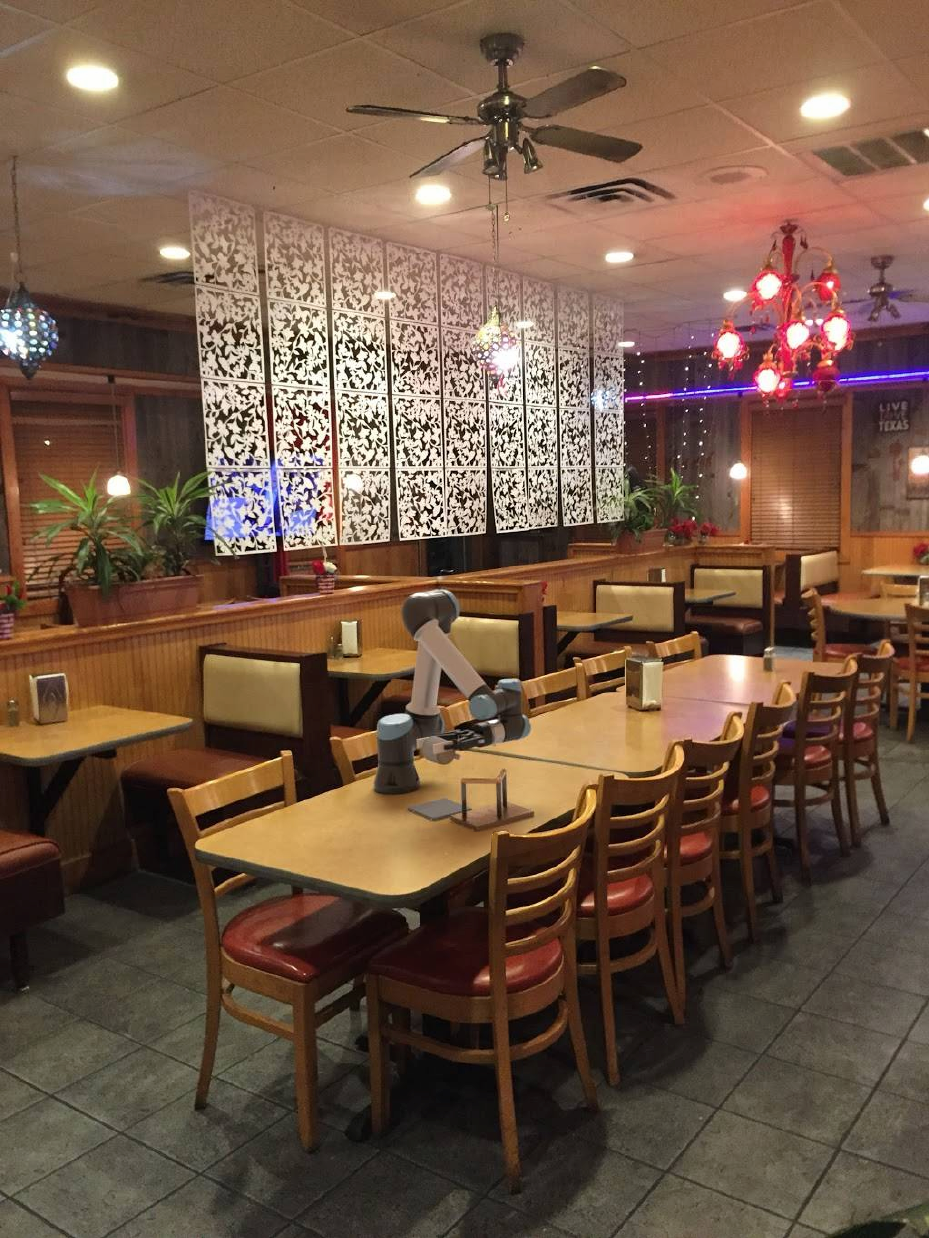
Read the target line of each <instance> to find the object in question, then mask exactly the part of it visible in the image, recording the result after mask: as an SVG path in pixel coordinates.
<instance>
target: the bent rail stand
mask: <svg viewBox="0 0 929 1238" xmlns="http://www.w3.org/2000/svg"><path fill="white" fill-rule="evenodd" d="M507 772H508V771H507V769H506V768H502V769H501V771H500V772H499V774H498V775H497V778H488V777H487V778H485V777H484V778H478V777H477V778H475V777H474V778H470V777H469V778H464V777H462V778H461V779H460V785H461V786H460V790H461V791H460V792H461V795H460V796H461V804H462V813H458V814H454V815H450V817H449V820H452V821H451V822H453V821H454V822H453V823H456V824H458V825H460V826H463V827H465V828H468V829H469V830H471V829H473V830H472V831H474V830H475V831H474V832H476V831H478V832H480V830H481V831H484V830H483V829H485V830H487V829H493V828H496V827H500V826H502V825H503V826H504V825H506V824H510V823H514V822H517V821H522V820H524V819H528V818H532V817H534V816H535V811H534V810H532V809H529V808H526V807H524V806H520V805H518V804H515V803H512V802H510V801H508V788H507V787H508V785H507ZM467 784H468V785H469V784H473V785H474V784H475V785H477V784H478V785H479V784H481V785H482V784H483V785H484V784H486V785H490V784H491V785H492V784H493V785H495V786H496V787H495V790H496V795H495V796H496V803H494V804H490V805H486V806H481V807H478V808H473V809H472V810H470V811H467V807H468V806H467V804H468V803H467Z"/></svg>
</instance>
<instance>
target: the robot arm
mask: <svg viewBox="0 0 929 1238" xmlns="http://www.w3.org/2000/svg"><path fill="white" fill-rule="evenodd" d="M460 607H461V606H460V604H459V601H458V599H457V598H456V596H455V595H454V593H452V592H451V591H449V590H447V589H432V590H427V591H421V592H414V593H412V594H411V595H409V596H408V597H406V598H405V600H404V601H403V603H402V606H401V611H400V617H401V620H402V624H403V626H404V627H405V629H406V631H407V633H408V634H409V635H410V637H412V639H413V640H414V641H416V642H418V643H417V652H416V658H415V659H416V660H415V667H414V668H415V669H414V674H413V684H412V691H411V692H412V693H411V700H410V702H409V703H408V704H406V706H405V712H404V713H393V714H389V715H385V716H383V717H381V718H380V719H379V720H378V721H377V724H376V743H377V761H378V764H377V765H378V766H377V770H376V773H375V777H374V781H373V789H374V790H375V791H376V792H378V793H381V794H389V795H390V794H391V795H399V794H407V793H412V792H414V791H417V790H419V788H420V787H421V783H420V782H421V780H420V777H419V774H418V771H417V769H416V764H415V760H414V759H415V756H414V752H415V751H417V750H420V749H422V747H423V744H424V742H425V740H426V739H427V738H429V737H431V736H437V737H440V738H442V739H444V740H447V742H442V743H438V744H433V754H437V753H441V752H446V751H451V750H453V749H454V750H455V751H459V752H462V751H465V750H470V749H473V748H478V749H480V748H485V747H488V746H493V747H496V746H497V745H498V744H502V743H508V742H514V741H518V740H522V739H524V738H526V737H528V736H529V735H530V733H531V727H532V726H531V723H530V719H529V717H527V715H525V714H524V713H523V690H522V682H521V681H520V680H519V679H517V678H504V679H500V680H498V682H497V685H496V686H497V687H496V689H494V690H492V689H491V688H490V687H489V686H488V685H487V683H486V682H485V680H484V679H483V678H482V677H481V676H480V674H478V672H477V671H476V670H475V669H474V667H473V666H472V665H471V664H470V663H469V661H468V660H467V658H465V656H463V654H462V653H461V651H460V650H458V648H457V647H456V646H455V644H454V643H453V642H452V640H450V638H449V637H448V636H449V635H450V634H451V629H452V624H453V623H454V622H456V620H458V618H459V616H460V612H461V611H460V610H461V609H460ZM442 670H443V672H444V673H445V674H446V675H447V676H448V679H450V680H451V681H452V683H453V684H454V685H455V686H456V687H457V689H458V690H459V691H460V693H462V695H463V696H464V697H465V699H467V700H468V702H469V703H468V709H469V713H470V715H471V716H472V718H473V719H476V720H479V721H482V722H477V723H474V724H473V725H472V726H471V727H470V729H464V730H462V731H461V729H455V730H451V731H445V720H444V719H443V716H442V714H441V709H440V707H439V706H438V705H437V703H438V696H439V695H438V694H439V687H440V680H441V673H442ZM496 716H498V718H496V719H491V718H494V717H496ZM488 719H491V720H488ZM483 720H485V721H483Z"/></svg>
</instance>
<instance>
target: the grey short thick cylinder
mask: <svg viewBox="0 0 929 1238" xmlns="http://www.w3.org/2000/svg"><path fill="white" fill-rule="evenodd" d="M442 742H447V740H444V739H442V738H440V737H437V736H431V737H429V738H427V739H426V740H425V742H424V744H423V747H422V748H421V753H422V755H423V758H424V759H425V760H427V761H429V762H432V763H435V764H438V765H442V766H446V765H449V764H450V763H452V762H453V760H457V761H459V760H460V758H461V754H458V753H456V750H454V749H453V750H451V751H446V752H441V753H437V754H433V744H438V743H442Z"/></svg>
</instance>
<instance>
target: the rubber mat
mask: <svg viewBox="0 0 929 1238" xmlns="http://www.w3.org/2000/svg"><path fill="white" fill-rule="evenodd" d="M410 810H411V811H410ZM470 810H473V808H471V807H469V806H467V811H470ZM407 811H410V812H412V811H413V812H412V813H414V812H415V814H416V813H417V815H419V816H421V817H424V818H426V819H428V820H430V819H432V820H435V821H437V820H436V819H439V820H443V819H447V818H450V815H454V814H458V813H462V803H459V802H458V801H454V800H451V799H449V798H446V797H443V798H439V799H437V800H432V801H427V802H423V803H419V804H414V805H411V806H407ZM432 820H431V821H432Z"/></svg>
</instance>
